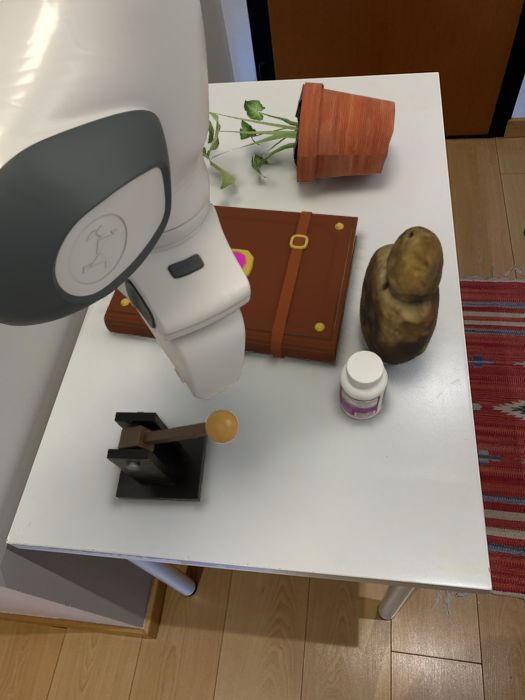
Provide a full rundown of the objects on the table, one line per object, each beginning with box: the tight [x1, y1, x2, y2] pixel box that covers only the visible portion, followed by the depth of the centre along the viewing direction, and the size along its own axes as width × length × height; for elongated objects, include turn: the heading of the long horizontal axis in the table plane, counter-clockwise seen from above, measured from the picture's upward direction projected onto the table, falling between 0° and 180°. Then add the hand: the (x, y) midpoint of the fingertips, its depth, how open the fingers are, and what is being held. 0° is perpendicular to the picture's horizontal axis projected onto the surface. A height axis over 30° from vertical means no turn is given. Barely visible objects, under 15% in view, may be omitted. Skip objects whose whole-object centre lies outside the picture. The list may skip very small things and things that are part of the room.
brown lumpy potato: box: [359, 225, 445, 366], centre depth 58 cm, size 13×8×20 cm, turn 173°
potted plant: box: [203, 81, 396, 190], centre depth 79 cm, size 16×15×35 cm
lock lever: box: [117, 409, 240, 452], centre depth 51 cm, size 14×3×3 cm, turn 87°
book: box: [103, 204, 359, 365], centre depth 72 cm, size 23×32×5 cm
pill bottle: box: [338, 350, 389, 420], centre depth 59 cm, size 5×5×10 cm
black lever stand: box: [106, 411, 208, 503], centre depth 57 cm, size 10×8×12 cm
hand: (161, 334), depth 46 cm, fingers open, 8 cm apart
